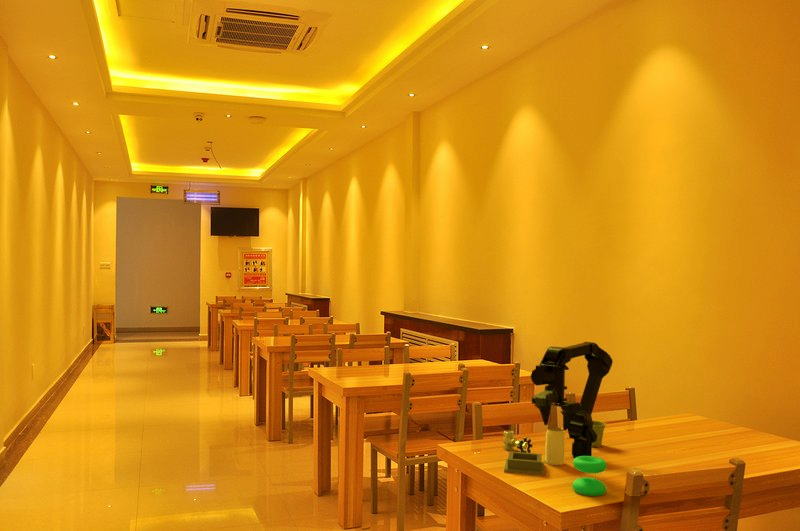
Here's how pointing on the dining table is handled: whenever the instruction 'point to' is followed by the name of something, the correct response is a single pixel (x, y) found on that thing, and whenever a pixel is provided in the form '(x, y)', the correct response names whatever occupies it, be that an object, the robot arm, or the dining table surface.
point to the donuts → (589, 484)
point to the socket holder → (524, 463)
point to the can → (554, 446)
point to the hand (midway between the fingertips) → (555, 427)
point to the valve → (515, 442)
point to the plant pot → (598, 432)
